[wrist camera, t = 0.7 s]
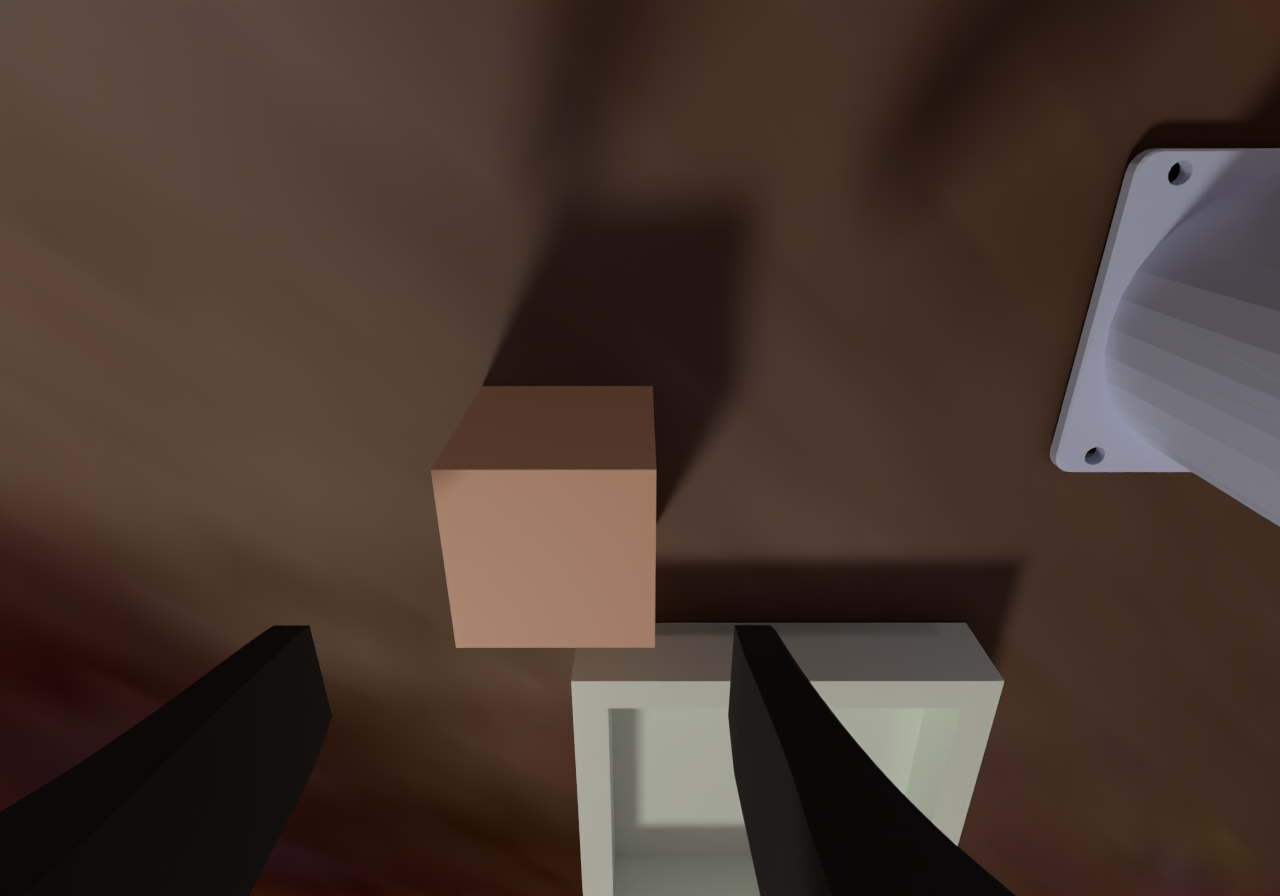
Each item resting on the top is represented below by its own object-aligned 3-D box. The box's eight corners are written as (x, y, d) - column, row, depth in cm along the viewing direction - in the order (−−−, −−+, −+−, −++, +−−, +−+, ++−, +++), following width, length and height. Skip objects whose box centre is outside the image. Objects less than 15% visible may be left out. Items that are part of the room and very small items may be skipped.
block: (652, 384, 18) (656, 470, 14) (651, 530, 20) (655, 647, 16) (482, 385, 18) (430, 469, 14) (497, 531, 20) (456, 647, 16)
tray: (965, 622, 22) (1004, 681, 19) (908, 857, 26) (934, 927, 24) (578, 622, 22) (571, 681, 19) (589, 857, 26) (584, 927, 24)
